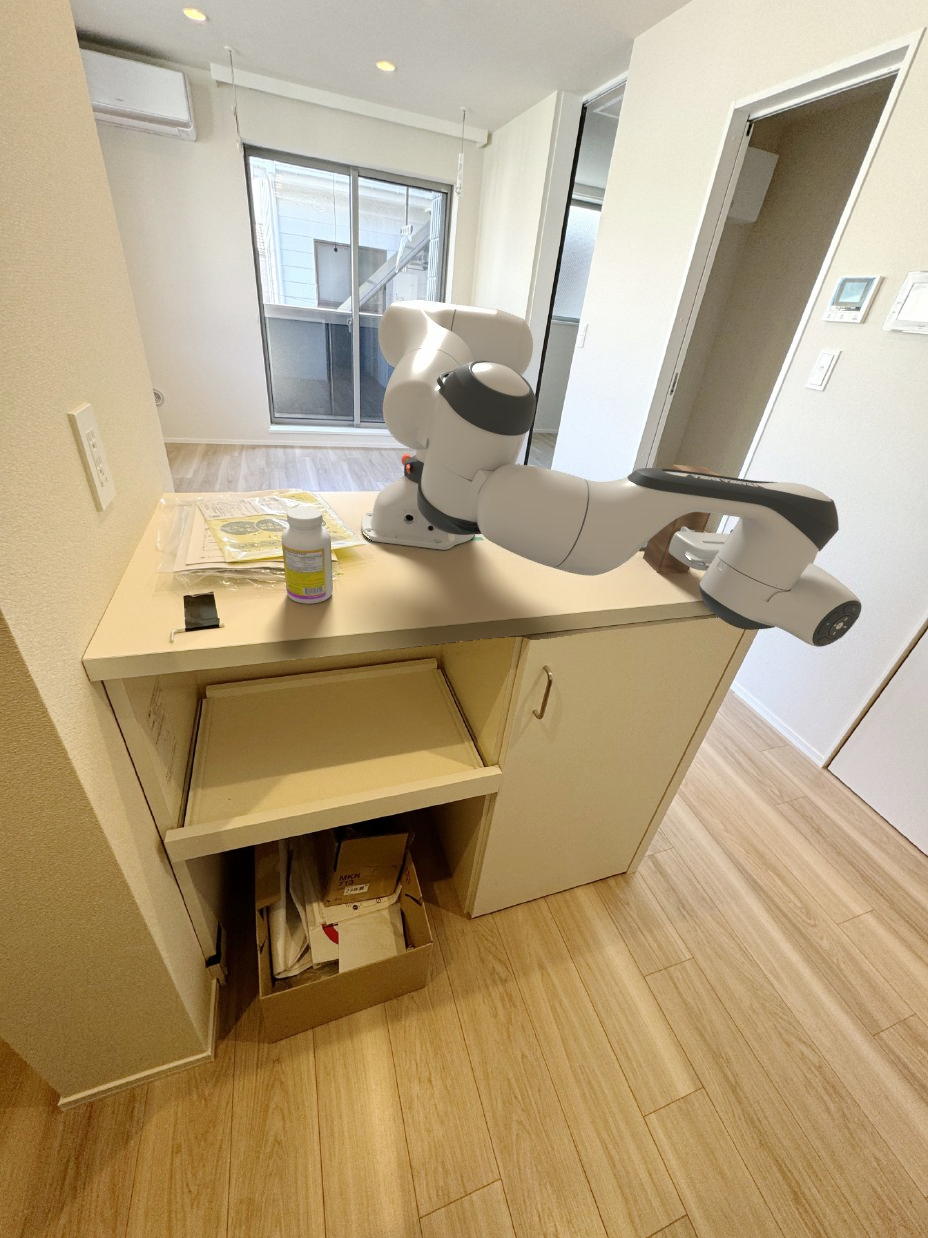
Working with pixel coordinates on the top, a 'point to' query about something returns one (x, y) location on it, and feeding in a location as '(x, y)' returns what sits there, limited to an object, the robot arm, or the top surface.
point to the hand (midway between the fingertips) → (708, 532)
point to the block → (660, 542)
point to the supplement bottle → (307, 556)
